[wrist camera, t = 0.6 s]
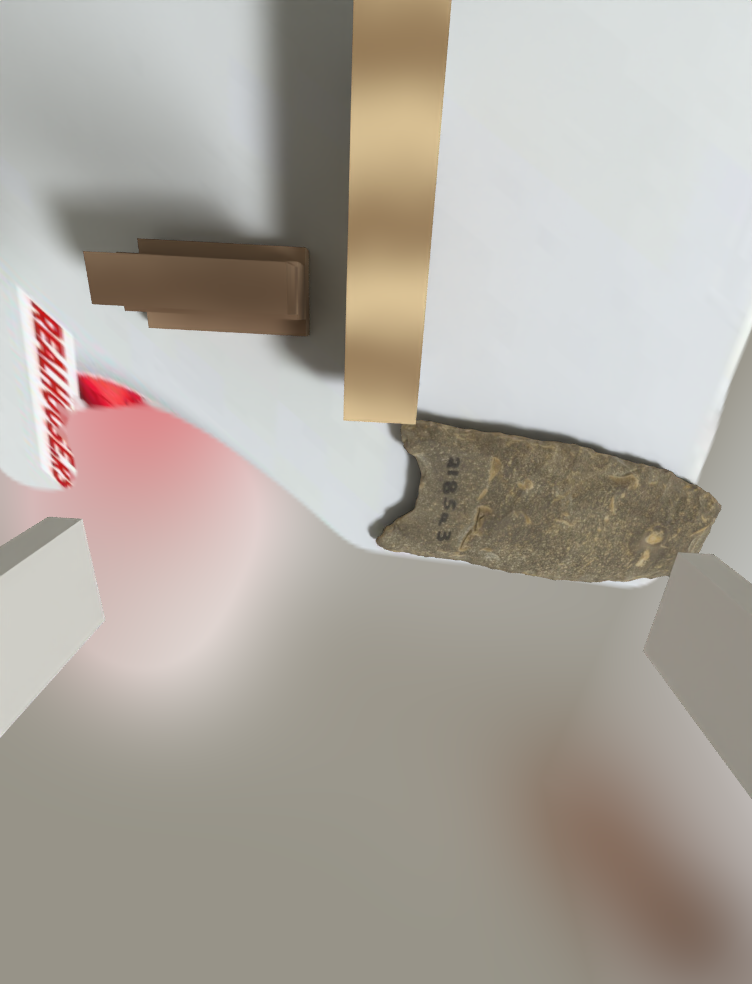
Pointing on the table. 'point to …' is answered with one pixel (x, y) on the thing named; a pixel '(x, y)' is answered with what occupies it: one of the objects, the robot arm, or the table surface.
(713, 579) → the robot arm
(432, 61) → the brass bar
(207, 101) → the table surface
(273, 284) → the stepped block
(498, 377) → the table surface
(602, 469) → the stone tool
